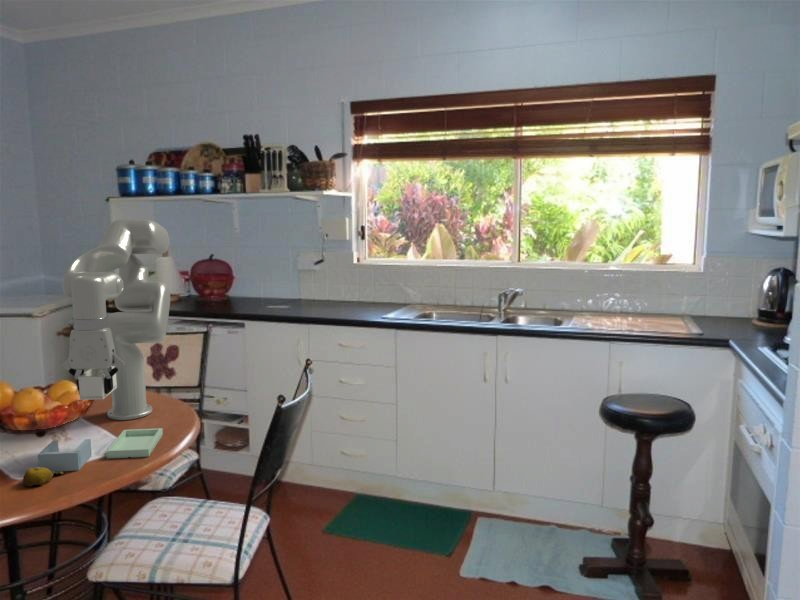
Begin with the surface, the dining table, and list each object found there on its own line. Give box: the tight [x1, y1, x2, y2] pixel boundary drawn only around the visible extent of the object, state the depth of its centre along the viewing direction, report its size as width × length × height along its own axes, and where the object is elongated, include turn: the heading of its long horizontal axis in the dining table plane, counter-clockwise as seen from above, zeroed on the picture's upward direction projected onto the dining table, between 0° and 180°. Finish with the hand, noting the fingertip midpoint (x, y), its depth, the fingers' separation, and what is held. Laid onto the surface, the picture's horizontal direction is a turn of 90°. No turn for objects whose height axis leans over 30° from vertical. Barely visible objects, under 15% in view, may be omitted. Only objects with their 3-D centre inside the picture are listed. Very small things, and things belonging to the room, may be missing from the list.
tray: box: [105, 427, 164, 460], centre depth 162 cm, size 15×10×2 cm
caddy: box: [78, 365, 117, 401], centre depth 159 cm, size 10×6×9 cm, turn 6°
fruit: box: [22, 466, 64, 488], centre depth 142 cm, size 8×8×4 cm
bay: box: [37, 438, 93, 472], centre depth 150 cm, size 9×9×4 cm
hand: (95, 391), depth 158 cm, fingers closed on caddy, 5 cm apart
